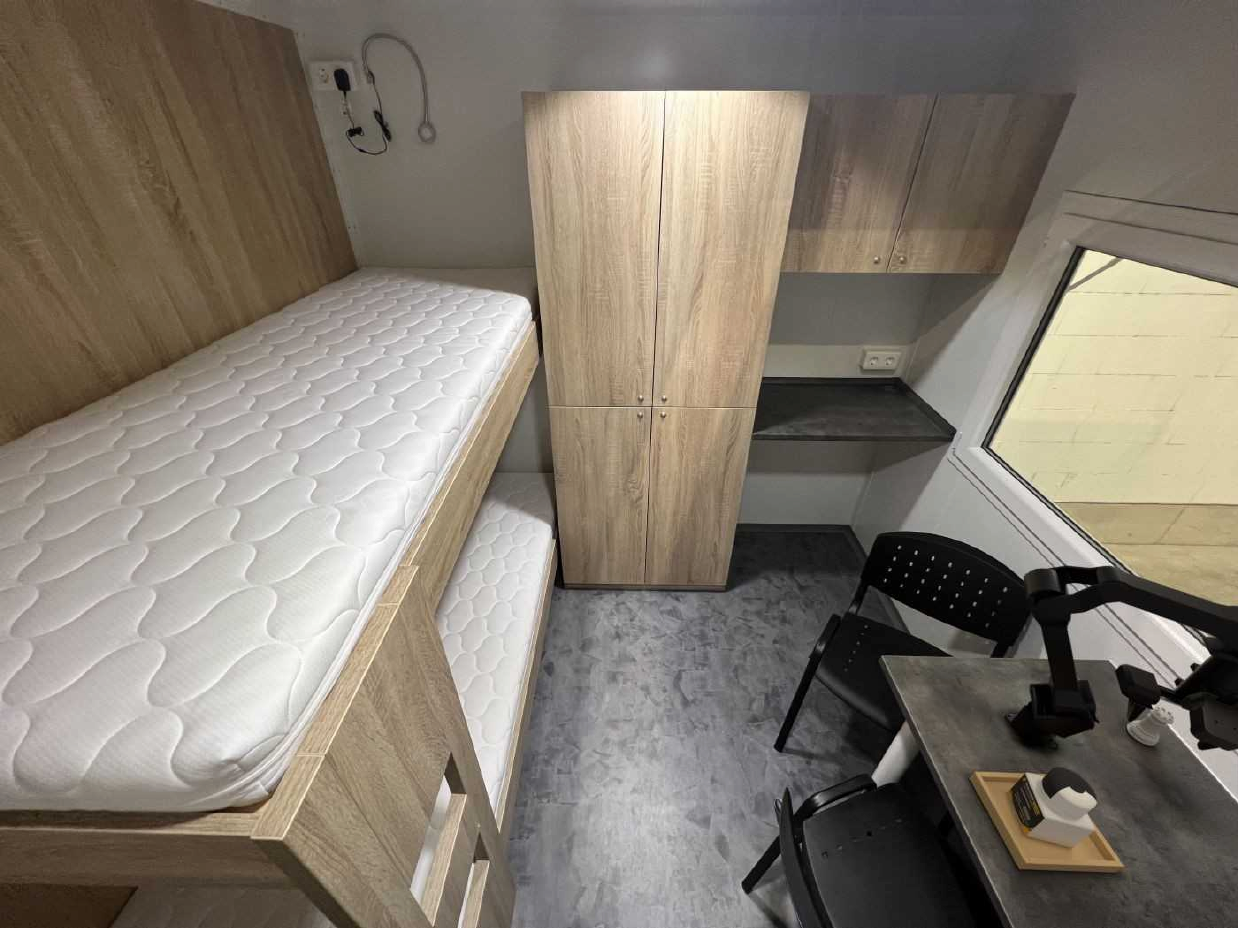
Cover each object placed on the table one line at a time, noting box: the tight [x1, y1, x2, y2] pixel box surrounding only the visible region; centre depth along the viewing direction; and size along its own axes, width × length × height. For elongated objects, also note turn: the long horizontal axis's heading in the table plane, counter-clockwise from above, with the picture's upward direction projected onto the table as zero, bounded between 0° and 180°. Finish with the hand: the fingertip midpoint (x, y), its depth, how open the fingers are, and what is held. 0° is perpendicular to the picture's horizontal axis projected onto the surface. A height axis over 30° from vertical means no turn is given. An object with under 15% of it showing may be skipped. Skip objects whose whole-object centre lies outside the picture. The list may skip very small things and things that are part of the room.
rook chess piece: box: [1126, 706, 1175, 747], centre depth 95 cm, size 4×4×8 cm
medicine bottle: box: [1008, 766, 1098, 848], centre depth 80 cm, size 7×7×12 cm
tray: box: [969, 771, 1125, 874], centre depth 83 cm, size 16×14×2 cm
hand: (1163, 733), depth 84 cm, fingers open, 9 cm apart
